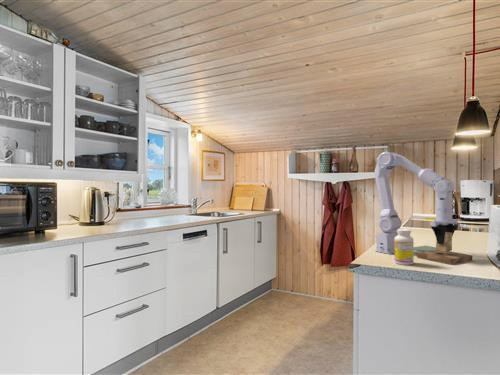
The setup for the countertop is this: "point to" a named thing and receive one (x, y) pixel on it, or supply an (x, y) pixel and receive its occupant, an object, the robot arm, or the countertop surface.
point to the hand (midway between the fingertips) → (444, 243)
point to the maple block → (445, 243)
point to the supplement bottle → (404, 247)
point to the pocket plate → (444, 256)
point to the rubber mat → (424, 248)
